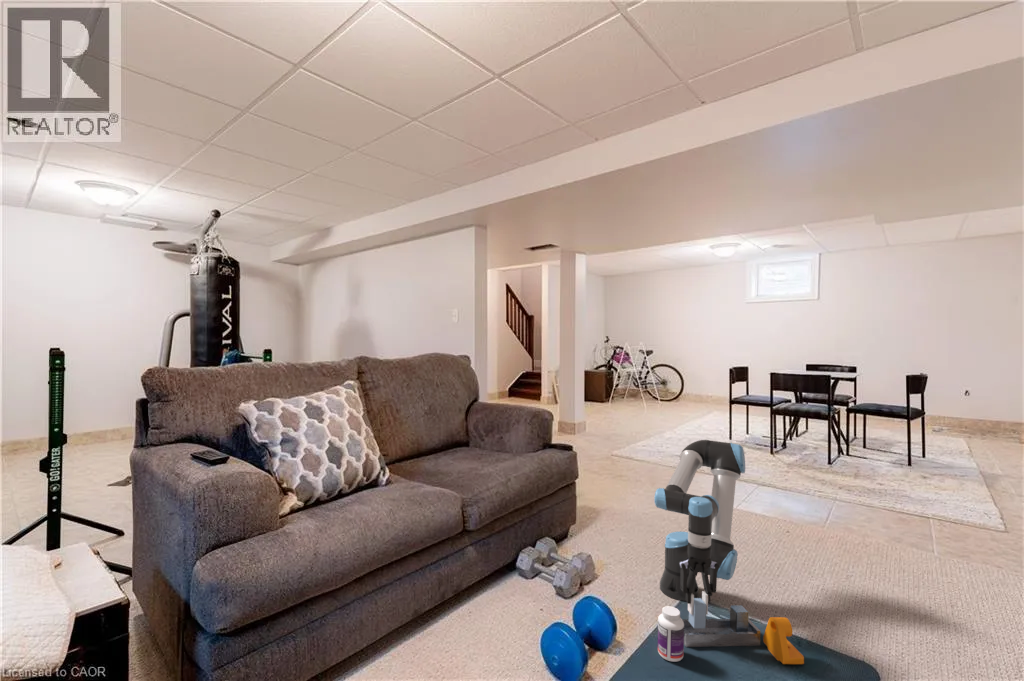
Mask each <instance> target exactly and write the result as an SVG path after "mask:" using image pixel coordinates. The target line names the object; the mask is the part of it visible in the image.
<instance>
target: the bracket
mask: <svg viewBox="0 0 1024 681" xmlns="http://www.w3.org/2000/svg"><path fill="white" fill-rule="evenodd" d="M793 633H794V632H793V626H792V623H791V622H790V620H789V618H788V617H784V616H782V617H781V616H776V617H775V616H774V617H773V616H772V617H771V616H770V617H769V618H768V620H767V624H766V627H765V629H764V633H763V636H762V643H764V645H765V646H766V647H767V650H768V651H769V653H771V655H772V656H773V657H774V658H775V660H777V661H778V662H781V663H782V665H804V664H805V657H804V655H803V654H802V653H801V652H800V651H799V650H798V649H797V648H796V647H795V646H794V645H793V644H792V643H791V641H789V640H788V639H787V637H788V638H789V637H790V638H791V637H792V636H793Z"/></svg>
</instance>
